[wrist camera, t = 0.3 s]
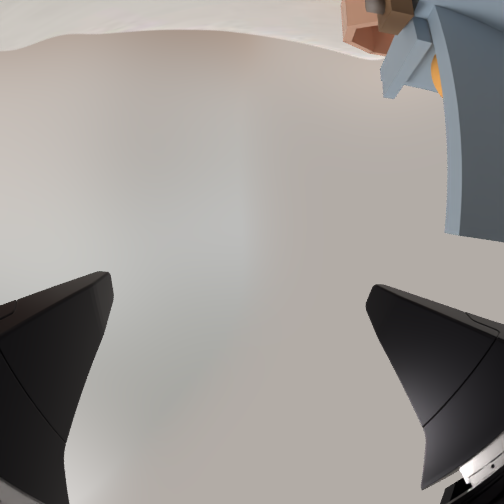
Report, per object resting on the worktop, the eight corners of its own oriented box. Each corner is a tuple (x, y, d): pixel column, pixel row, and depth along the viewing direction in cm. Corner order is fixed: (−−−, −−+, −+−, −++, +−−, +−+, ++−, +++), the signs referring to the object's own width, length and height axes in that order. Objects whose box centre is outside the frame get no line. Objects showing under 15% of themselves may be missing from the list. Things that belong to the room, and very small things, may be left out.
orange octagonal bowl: (346, -30, 10) (351, 12, 11) (470, 2, 8) (478, 45, 10) (339, 17, 17) (340, 50, 19) (430, 33, 16) (433, 66, 17)
